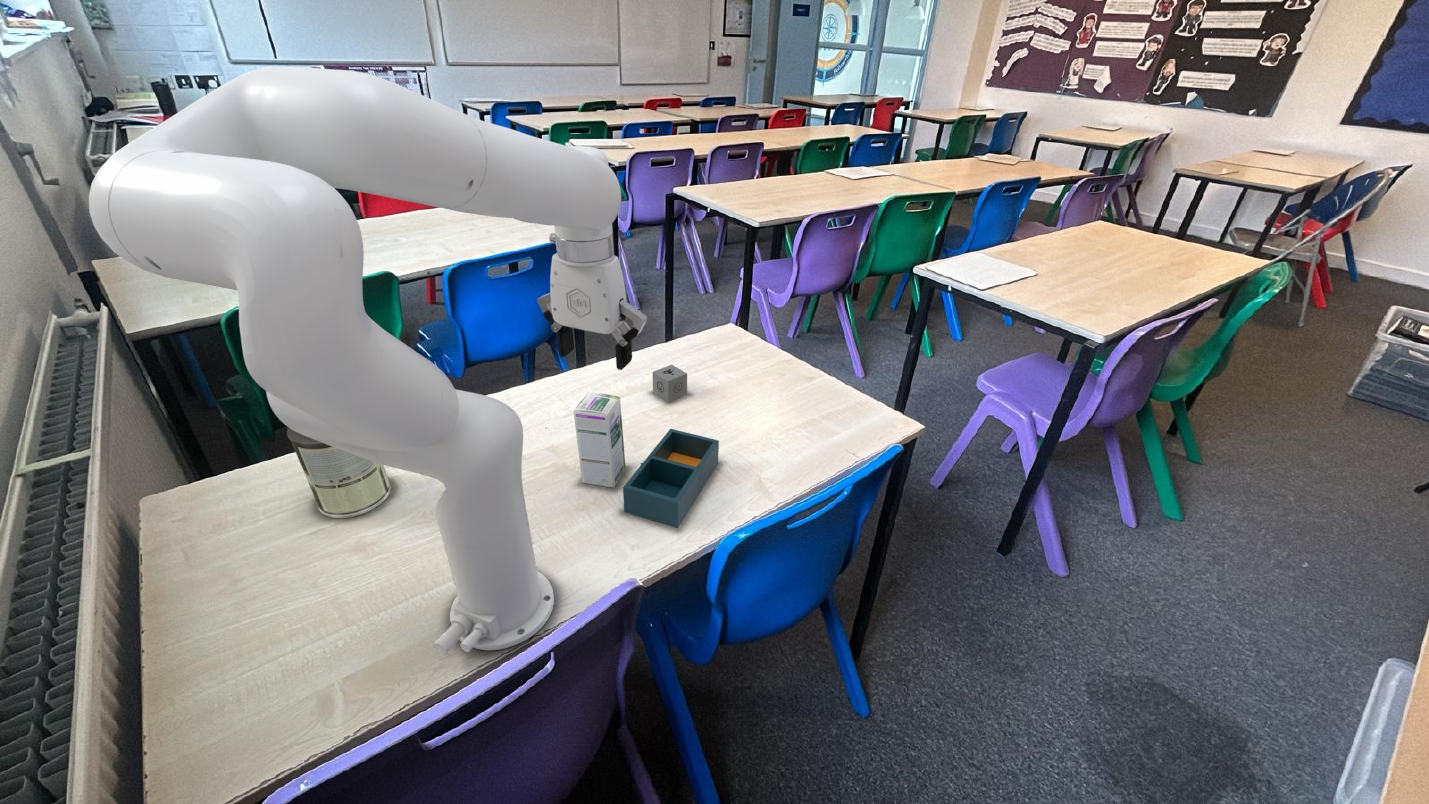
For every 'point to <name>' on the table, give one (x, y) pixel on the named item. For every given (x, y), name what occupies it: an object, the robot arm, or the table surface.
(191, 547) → the table surface
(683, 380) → the dice cube
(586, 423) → the syrup box
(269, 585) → the table surface
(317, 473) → the coffee can
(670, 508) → the tray
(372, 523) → the table surface
